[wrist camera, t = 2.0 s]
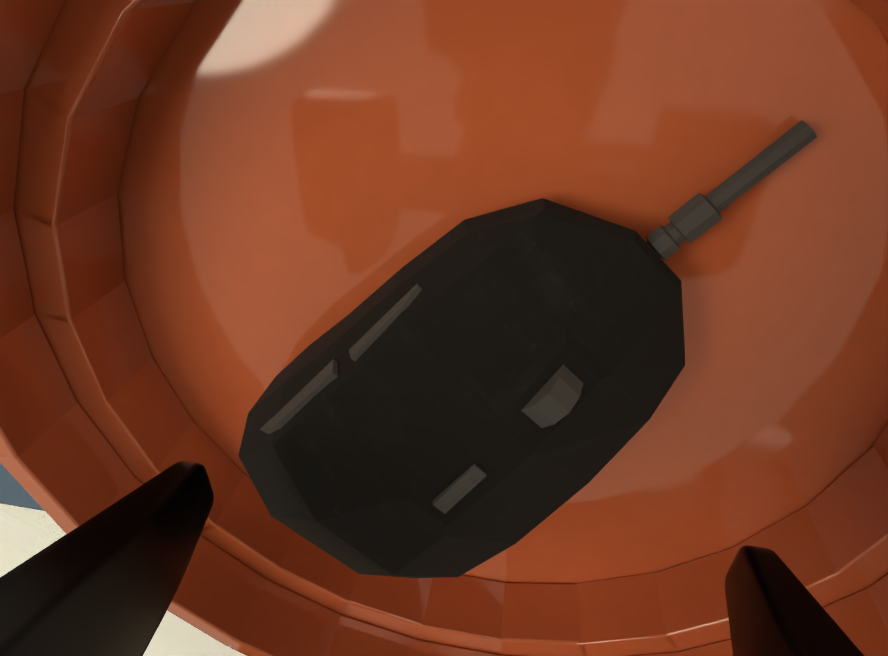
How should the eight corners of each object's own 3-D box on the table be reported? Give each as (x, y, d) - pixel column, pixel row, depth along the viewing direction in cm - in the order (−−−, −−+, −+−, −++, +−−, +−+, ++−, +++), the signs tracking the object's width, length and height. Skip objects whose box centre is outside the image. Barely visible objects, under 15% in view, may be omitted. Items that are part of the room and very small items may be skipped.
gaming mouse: (899, 254, 10) (1071, 401, 7) (388, 541, 17) (349, 676, 14) (690, -32, 8) (781, -26, 5) (222, 424, 16) (133, 549, 12)
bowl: (785, 644, 17) (840, 804, 14) (193, 543, 20) (122, 658, 17) (1466, -293, 6) (2580, -602, 3) (-118, -239, 9) (-533, -362, 5)
